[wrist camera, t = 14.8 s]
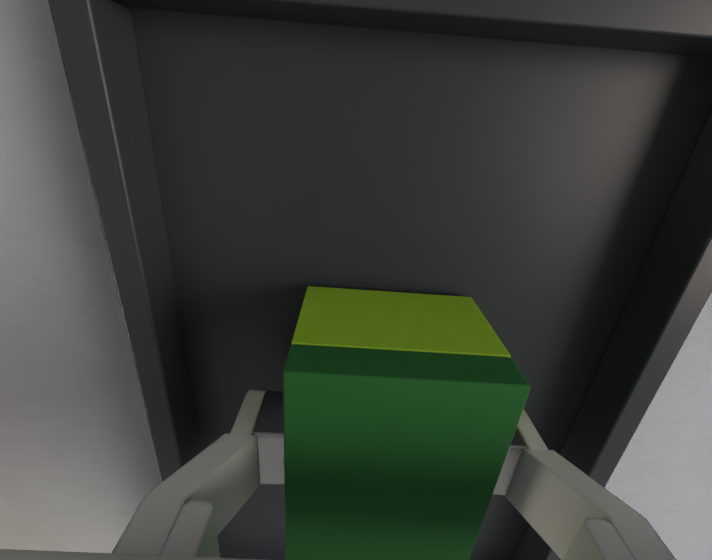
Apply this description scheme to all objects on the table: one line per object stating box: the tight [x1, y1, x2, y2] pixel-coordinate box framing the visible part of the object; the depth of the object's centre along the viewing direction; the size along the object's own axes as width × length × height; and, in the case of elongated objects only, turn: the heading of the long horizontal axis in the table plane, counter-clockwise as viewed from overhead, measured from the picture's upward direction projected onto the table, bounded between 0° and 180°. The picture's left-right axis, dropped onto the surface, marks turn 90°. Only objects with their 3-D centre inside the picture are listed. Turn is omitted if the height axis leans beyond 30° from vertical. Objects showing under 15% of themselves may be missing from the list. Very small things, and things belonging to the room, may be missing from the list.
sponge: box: [283, 286, 531, 560], centre depth 10 cm, size 7×5×4 cm
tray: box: [48, 0, 712, 560], centre depth 12 cm, size 24×16×2 cm, turn 176°
